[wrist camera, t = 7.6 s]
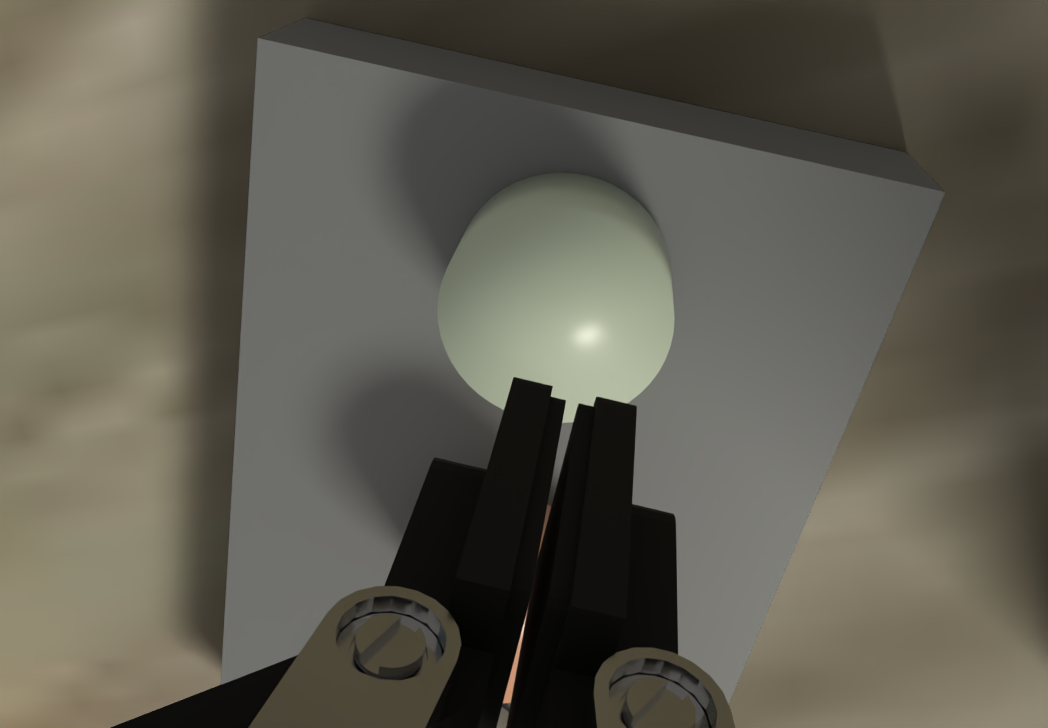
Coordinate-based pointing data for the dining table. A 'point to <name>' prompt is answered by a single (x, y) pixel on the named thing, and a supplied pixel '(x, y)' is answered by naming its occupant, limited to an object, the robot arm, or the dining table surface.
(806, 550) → the dining table surface
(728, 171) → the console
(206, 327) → the dining table surface
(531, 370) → the sage button
